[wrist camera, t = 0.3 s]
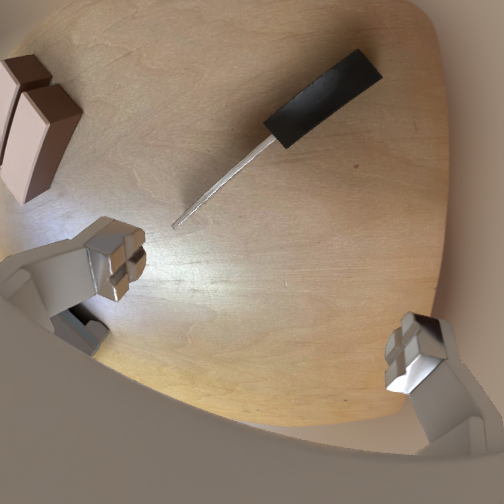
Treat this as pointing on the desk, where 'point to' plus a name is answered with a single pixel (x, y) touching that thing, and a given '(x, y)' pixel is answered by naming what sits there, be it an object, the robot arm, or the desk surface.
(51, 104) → the cake
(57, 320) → the toaster
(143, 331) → the desk surface
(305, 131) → the knife
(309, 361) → the desk surface
